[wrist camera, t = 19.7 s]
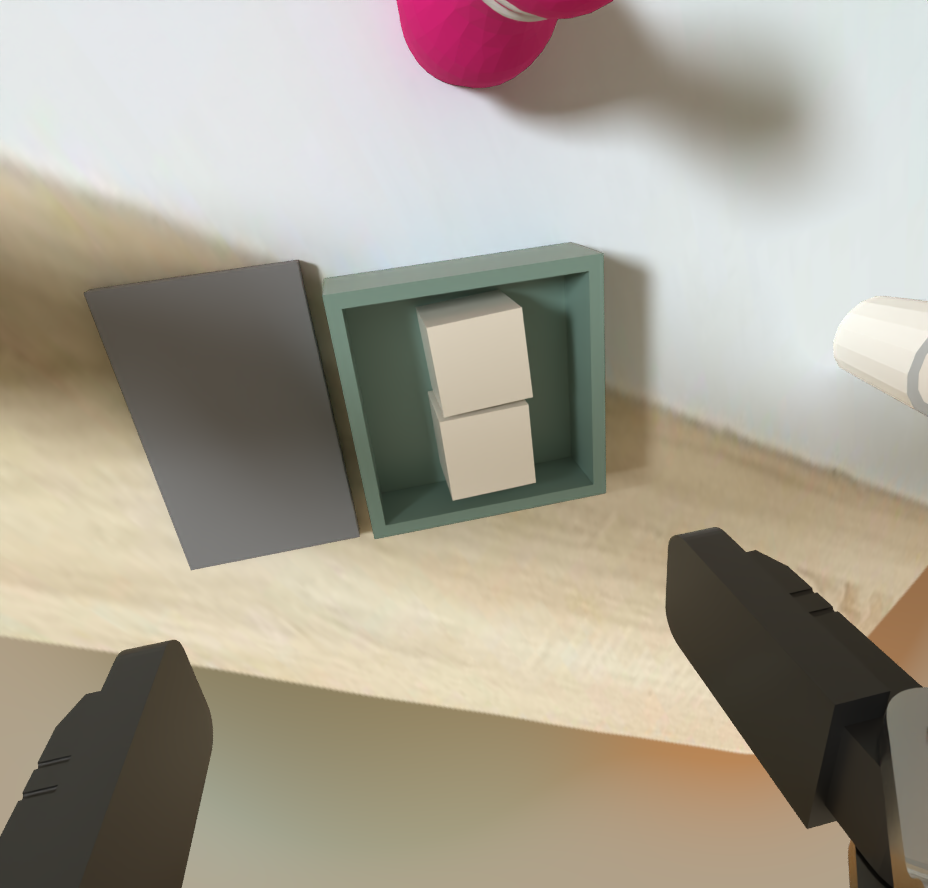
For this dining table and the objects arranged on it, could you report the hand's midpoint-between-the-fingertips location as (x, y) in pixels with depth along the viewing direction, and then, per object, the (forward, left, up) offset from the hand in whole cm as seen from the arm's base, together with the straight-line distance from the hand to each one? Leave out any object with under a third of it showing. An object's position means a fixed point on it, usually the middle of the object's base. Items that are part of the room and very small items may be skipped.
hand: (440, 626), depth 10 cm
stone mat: (-9, -6, -28) cm, 30 cm away
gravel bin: (+5, -6, -28) cm, 29 cm away
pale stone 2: (+5, -8, -27) cm, 29 cm away
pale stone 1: (+5, -3, -27) cm, 28 cm away
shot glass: (+34, -8, -28) cm, 45 cm away
